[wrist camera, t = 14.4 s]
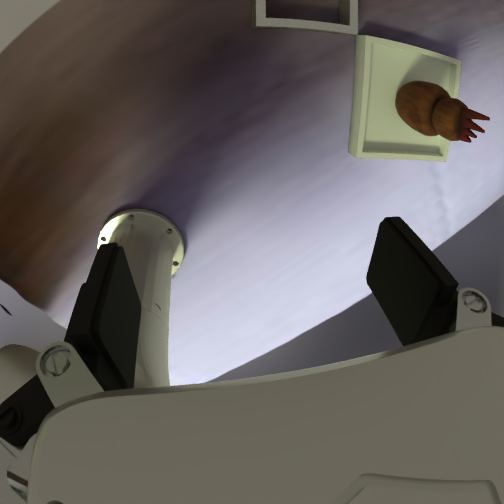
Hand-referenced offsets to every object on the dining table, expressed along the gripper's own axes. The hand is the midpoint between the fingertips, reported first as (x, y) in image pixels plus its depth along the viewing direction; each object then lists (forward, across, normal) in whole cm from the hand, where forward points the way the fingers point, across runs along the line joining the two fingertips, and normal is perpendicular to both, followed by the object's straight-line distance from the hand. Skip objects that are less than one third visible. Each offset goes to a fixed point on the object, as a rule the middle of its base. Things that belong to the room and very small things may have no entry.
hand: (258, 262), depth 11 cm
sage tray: (+28, -25, -2) cm, 38 cm away
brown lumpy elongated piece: (+27, -25, -2) cm, 37 cm away
